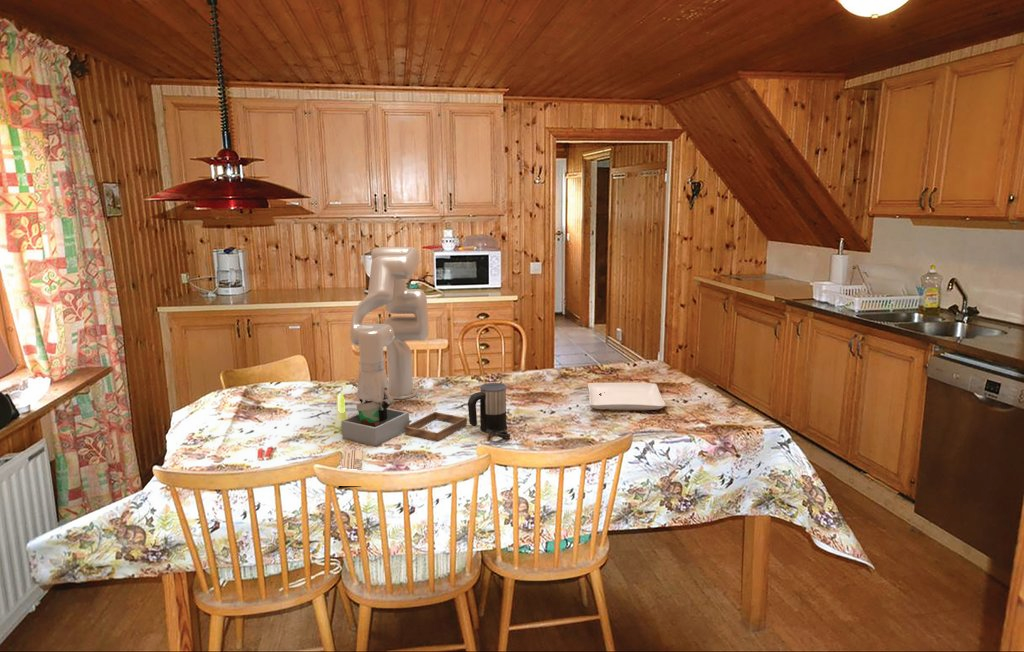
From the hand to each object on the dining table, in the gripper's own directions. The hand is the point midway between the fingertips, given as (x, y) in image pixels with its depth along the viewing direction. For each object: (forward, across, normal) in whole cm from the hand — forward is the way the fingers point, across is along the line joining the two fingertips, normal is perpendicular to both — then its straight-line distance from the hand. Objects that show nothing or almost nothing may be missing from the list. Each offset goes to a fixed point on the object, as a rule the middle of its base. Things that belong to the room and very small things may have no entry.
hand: (375, 418), depth 208 cm
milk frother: (+6, +35, +19) cm, 40 cm away
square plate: (+6, +62, +69) cm, 93 cm away
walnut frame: (+5, +16, +12) cm, 21 cm away
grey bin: (+5, 0, 0) cm, 5 cm away
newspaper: (+6, +13, -24) cm, 28 cm away
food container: (+3, +1, 0) cm, 3 cm away
